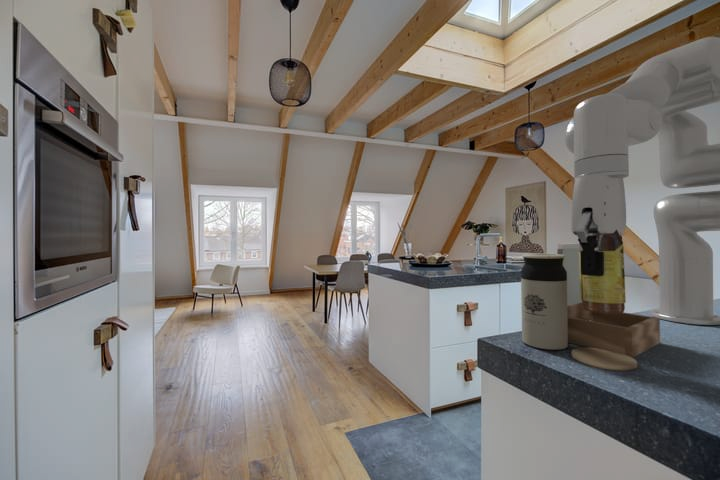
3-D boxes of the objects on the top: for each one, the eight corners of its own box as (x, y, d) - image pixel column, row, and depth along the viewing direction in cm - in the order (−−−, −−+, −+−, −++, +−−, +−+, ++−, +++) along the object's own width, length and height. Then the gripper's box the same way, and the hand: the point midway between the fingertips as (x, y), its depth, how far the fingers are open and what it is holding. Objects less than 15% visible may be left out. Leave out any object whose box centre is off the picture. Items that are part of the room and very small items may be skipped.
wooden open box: (590, 328, 73) (590, 298, 73) (659, 342, 63) (659, 307, 63) (559, 340, 66) (559, 306, 66) (632, 358, 56) (631, 318, 56)
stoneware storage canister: (542, 336, 69) (541, 253, 69) (577, 348, 61) (576, 254, 61) (513, 340, 66) (511, 254, 66) (546, 353, 59) (545, 256, 59)
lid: (591, 328, 74) (590, 242, 73) (596, 329, 73) (595, 242, 73) (557, 340, 66) (556, 244, 66) (563, 342, 65) (561, 244, 65)
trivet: (585, 347, 62) (585, 344, 62) (645, 362, 54) (645, 358, 54) (562, 357, 57) (562, 354, 57) (624, 375, 49) (624, 371, 49)
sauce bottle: (634, 316, 51) (633, 193, 51) (591, 315, 53) (589, 195, 53) (611, 307, 58) (609, 198, 58) (573, 306, 59) (571, 199, 59)
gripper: (597, 178, 63) (598, 269, 63) (551, 169, 54) (552, 275, 54) (646, 171, 57) (647, 272, 57) (603, 160, 47) (605, 280, 47)
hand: (601, 273), depth 55 cm, fingers closed on sauce bottle, 6 cm apart
